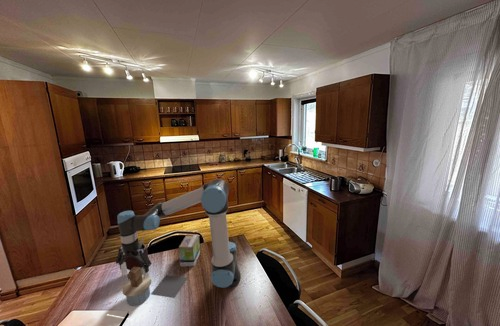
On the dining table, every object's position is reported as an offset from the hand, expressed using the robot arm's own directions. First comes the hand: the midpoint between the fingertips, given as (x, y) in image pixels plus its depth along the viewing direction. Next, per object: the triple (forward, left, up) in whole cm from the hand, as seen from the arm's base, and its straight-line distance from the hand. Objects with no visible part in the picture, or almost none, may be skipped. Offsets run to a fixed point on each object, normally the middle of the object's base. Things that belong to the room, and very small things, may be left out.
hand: (135, 275), depth 110 cm
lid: (0, 0, -6) cm, 6 cm away
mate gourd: (+15, -18, -14) cm, 28 cm away
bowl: (0, 0, -14) cm, 14 cm away
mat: (-12, -10, -14) cm, 22 cm away
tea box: (-13, -35, -14) cm, 40 cm away
